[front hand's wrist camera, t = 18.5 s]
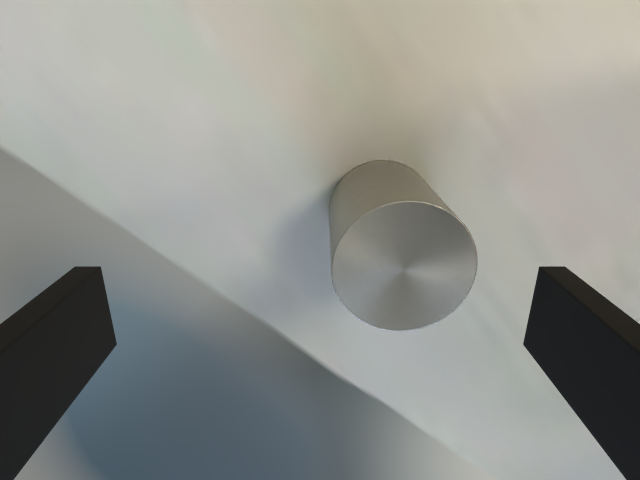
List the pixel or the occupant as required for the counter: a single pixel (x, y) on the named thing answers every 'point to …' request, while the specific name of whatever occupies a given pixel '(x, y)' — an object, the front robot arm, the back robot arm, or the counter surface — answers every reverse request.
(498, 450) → the counter surface
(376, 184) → the can
